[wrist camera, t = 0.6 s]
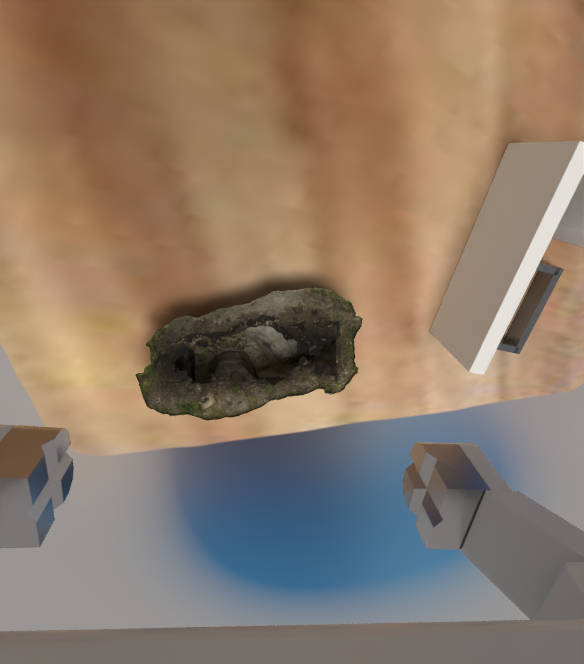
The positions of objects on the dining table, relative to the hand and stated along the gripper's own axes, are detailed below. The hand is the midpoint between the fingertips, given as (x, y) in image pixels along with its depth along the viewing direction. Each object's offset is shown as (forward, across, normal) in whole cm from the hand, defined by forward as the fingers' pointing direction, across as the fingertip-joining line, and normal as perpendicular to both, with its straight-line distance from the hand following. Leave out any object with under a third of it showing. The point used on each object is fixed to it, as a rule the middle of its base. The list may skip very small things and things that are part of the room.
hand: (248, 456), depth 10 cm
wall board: (+45, -30, +2) cm, 54 cm away
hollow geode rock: (+45, -2, +17) cm, 48 cm away
